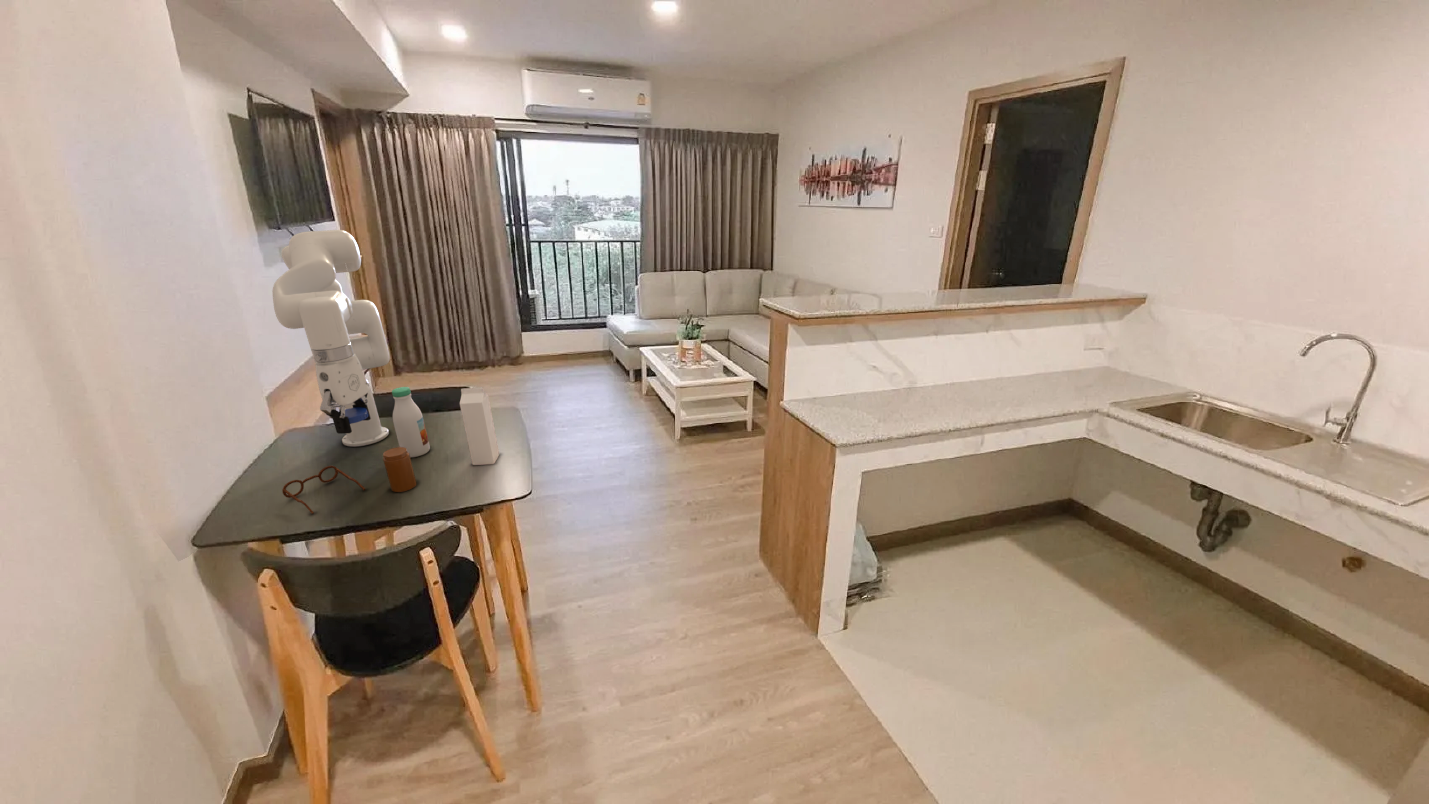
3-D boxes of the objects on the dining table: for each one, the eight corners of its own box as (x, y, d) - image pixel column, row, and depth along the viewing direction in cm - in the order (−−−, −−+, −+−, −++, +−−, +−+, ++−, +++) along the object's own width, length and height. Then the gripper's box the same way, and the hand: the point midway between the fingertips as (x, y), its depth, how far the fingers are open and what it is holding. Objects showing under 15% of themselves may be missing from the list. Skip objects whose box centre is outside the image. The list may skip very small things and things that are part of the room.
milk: (478, 455, 162) (464, 384, 154) (500, 454, 162) (486, 383, 154) (472, 465, 156) (456, 392, 148) (494, 464, 157) (480, 391, 148)
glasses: (339, 478, 151) (333, 462, 149) (366, 490, 145) (361, 473, 143) (285, 501, 140) (278, 484, 139) (311, 515, 134) (305, 497, 132)
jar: (387, 487, 146) (377, 453, 142) (409, 478, 150) (400, 444, 146) (398, 494, 142) (388, 459, 139) (421, 484, 147) (412, 450, 143)
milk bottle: (418, 459, 160) (402, 394, 153) (395, 457, 162) (378, 393, 154) (436, 447, 167) (421, 385, 160) (413, 445, 169) (398, 383, 161)
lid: (357, 424, 127) (355, 418, 126) (328, 424, 127) (326, 418, 126) (374, 412, 133) (373, 407, 132) (347, 413, 133) (345, 407, 132)
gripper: (323, 365, 116) (347, 442, 122) (372, 342, 132) (390, 411, 139) (288, 365, 116) (313, 442, 123) (341, 343, 132) (361, 412, 139)
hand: (354, 425), depth 130 cm, fingers closed on lid, 6 cm apart
